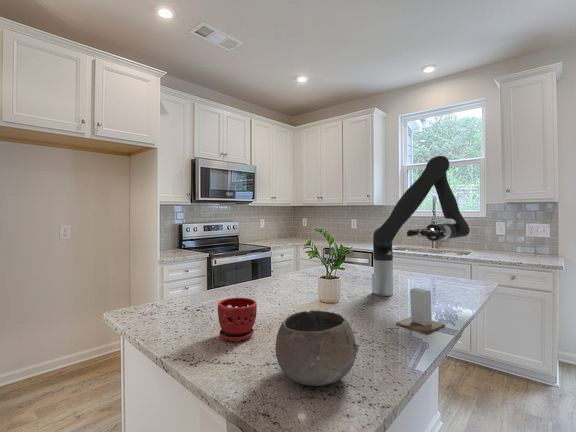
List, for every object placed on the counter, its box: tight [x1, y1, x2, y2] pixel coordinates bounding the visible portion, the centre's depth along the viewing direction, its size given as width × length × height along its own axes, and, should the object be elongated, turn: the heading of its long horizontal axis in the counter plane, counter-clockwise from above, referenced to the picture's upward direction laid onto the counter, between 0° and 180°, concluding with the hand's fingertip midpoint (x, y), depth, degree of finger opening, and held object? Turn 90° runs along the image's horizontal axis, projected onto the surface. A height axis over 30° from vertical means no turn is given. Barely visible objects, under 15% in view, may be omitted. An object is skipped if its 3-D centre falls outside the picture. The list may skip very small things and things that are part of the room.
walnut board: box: [395, 316, 446, 335], centre depth 116 cm, size 12×12×1 cm
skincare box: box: [409, 287, 433, 326], centre depth 116 cm, size 6×4×12 cm
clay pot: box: [274, 309, 359, 387], centre depth 82 cm, size 21×21×15 cm
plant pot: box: [217, 297, 258, 342], centre depth 109 cm, size 13×13×12 cm
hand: (417, 234), depth 130 cm, fingers open, 8 cm apart
